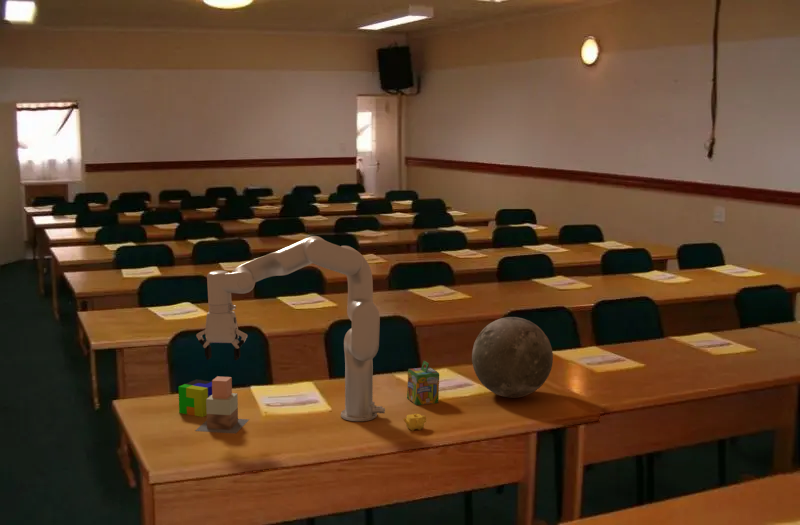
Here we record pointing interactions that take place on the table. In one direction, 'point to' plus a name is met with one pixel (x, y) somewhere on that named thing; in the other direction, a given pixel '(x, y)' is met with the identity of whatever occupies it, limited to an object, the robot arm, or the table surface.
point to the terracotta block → (222, 387)
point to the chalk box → (423, 385)
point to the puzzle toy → (194, 397)
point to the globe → (512, 357)
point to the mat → (233, 430)
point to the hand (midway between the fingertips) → (222, 358)
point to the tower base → (222, 420)
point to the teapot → (415, 421)
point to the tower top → (222, 405)
